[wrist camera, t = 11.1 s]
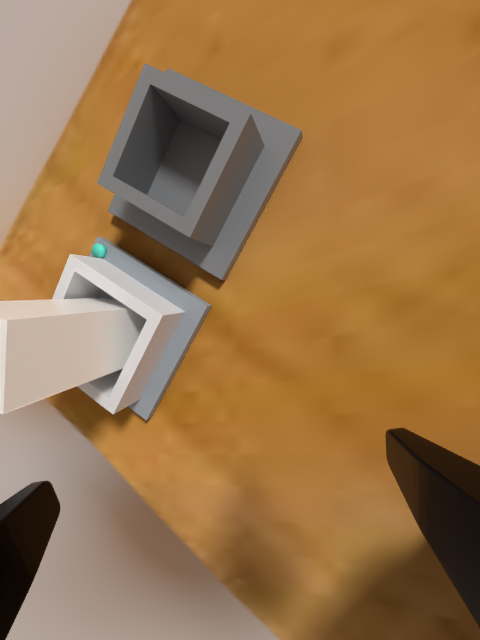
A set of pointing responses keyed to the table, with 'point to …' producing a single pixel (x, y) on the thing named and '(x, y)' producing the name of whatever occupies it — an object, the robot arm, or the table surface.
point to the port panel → (157, 334)
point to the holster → (195, 167)
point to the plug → (61, 345)
